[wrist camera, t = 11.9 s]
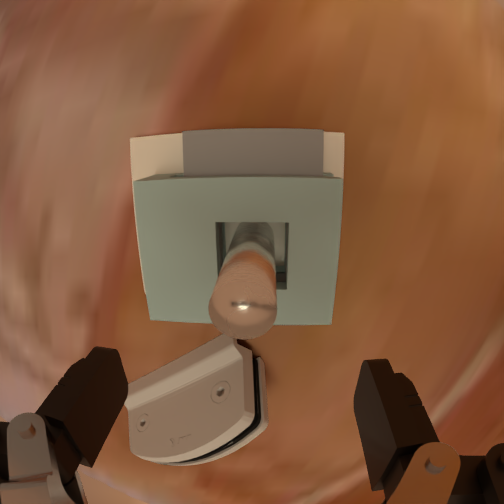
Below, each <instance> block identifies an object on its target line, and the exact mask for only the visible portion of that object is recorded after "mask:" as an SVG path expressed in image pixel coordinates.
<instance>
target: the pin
mask: <svg viewBox="0 0 504 504" xmlns="http://www.w3.org/2000/svg"><path fill="white" fill-rule="evenodd" d="M208 311H209V316H210V319H211V321H212V323H213V324H214V326H215V327H216V328H217V329H218V330H219V331H221V332H222V333H223V334H225V335H227V336H229V337H232V338H236V339H253V338H256V337H259V336H261V335H263V334H265V333H266V332H267V331H268V330H269V329H270V328H271V327H272V326H273V324H274V322H275V320H276V317H277V295H276V269H275V245H274V232H273V230H272V228H271V226H270V225H269V224H268V223H267V222H241V223H240V224H239V225H238V226H237V228H236V230H235V233H234V236H233V238H232V241H231V244H230V246H229V249H228V252H227V254H226V257H225V260H224V262H223V265H222V268H221V270H220V273H219V276H218V279H217V281H216V284H215V287H214V289H213V292H212V295H211V298H210V301H209V305H208Z"/></svg>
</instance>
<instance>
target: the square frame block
mask: <svg viewBox="0 0 504 504" xmlns="http://www.w3.org/2000/svg"><path fill="white" fill-rule="evenodd" d="M130 152H131V172H132V187H133V200H134V211H135V221H136V231H137V240H138V248H139V256H140V263H141V271H142V278H143V284H144V291H145V293H146V297H147V303H148V309H149V315H150V320H159V321H174V322H191V323H212V321H211V319H210V316H209V311H208V305H209V301H210V298H211V295H212V292H213V289H214V287H215V284H216V281H217V279H218V276H219V273H220V270H221V268H222V265H223V262H224V260H225V257H226V254H227V252H228V249H229V246H230V244H231V241H232V238H233V236H234V233H235V230H236V228H237V226H238V225H239V224H240V223H241V222H267V223H268V224H269V225H270V226H271V228H272V230H273V232H274V245H275V269H276V295H277V317H276V320H275V322H274V324H273V325H331V323H332V315H333V306H334V298H335V289H336V279H337V269H338V258H339V246H340V233H341V218H342V200H343V177H344V133H338V132H324V130H319V129H291V128H239V129H211V130H193V131H182V133H177V134H165V135H154V136H145V137H136V138H130Z"/></svg>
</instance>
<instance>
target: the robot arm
mask: <svg viewBox="0 0 504 504" xmlns="http://www.w3.org/2000/svg"><path fill="white" fill-rule="evenodd" d="M127 396H128V382H127V378H126V375H125V372H124V369H123V365H122V362H121V358H120V355H119V352H118V351H117V350H116V349H111V348H105V347H98V346H96V347H94V348H93V349H92V351H91V352H90V353H89V354H88V356H87V357H86V358H82V359H81V360H79V361H78V362H76V363H75V364H73V365H72V366H71V367H70V368H69V369H68V370H67V372H66V373H65V374H64V377H62V378H61V379H60V381H59V382H58V385H56V386H55V387H54V389H53V390H52V391H51V393H50V394H49V395H48V396H47V398H46V399H45V400H44V402H43V403H42V405H41V406H40V407H39V409H38V410H37V411H36V413H23V414H20V415H18V416H16V417H15V418H13V419H12V420H11V422H10V423H9V422H0V504H88V502H87V499H86V496H85V493H84V489H83V486H82V483H81V480H80V476H79V473H78V471H77V468H78V466H79V464H82V465H85V466H88V467H91V468H92V467H93V465H94V463H95V461H96V458H97V456H98V454H99V452H100V450H101V448H102V446H103V444H104V442H105V440H106V438H107V436H108V434H109V432H110V430H111V428H112V426H113V424H114V422H115V420H116V418H117V416H118V414H119V413H120V411H121V409H122V407H123V405H124V403H125V401H126V399H127ZM354 412H355V417H356V421H357V425H358V429H359V433H360V438H361V442H362V447H363V451H364V456H365V460H366V465H367V469H368V474H369V479H370V484H371V489H372V491H377V490H383V489H384V493H385V499H384V500H383V502H382V503H381V504H504V443H501V444H497V445H495V446H493V447H492V448H491V449H490V450H489V452H488V453H487V454H486V456H462V455H458V453H457V452H456V451H455V449H453V448H452V447H451V446H449V445H447V444H445V443H441V442H440V441H439V439H438V437H437V435H436V433H435V430H434V428H433V426H432V423H431V421H430V419H429V417H428V415H427V412H426V410H425V408H424V406H422V401H421V399H420V397H419V396H418V393H417V391H416V389H415V387H414V385H413V383H412V382H411V381H410V380H409V379H408V378H407V377H406V376H405V375H404V374H403V373H394V372H393V369H392V367H391V365H390V363H389V361H388V360H387V359H373V360H364V361H363V363H362V366H361V370H360V374H359V378H358V382H357V386H356V390H355V394H354Z"/></svg>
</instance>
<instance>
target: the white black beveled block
mask: <svg viewBox="0 0 504 504" xmlns="http://www.w3.org/2000/svg"><path fill="white" fill-rule="evenodd" d="M124 404H125V406H126V407H127V409H128V417H129V438H130V450H131V452H132V453H133V454H135V455H136V456H138V457H140V458H142V459H145V460H149V461H151V462H155V463H158V464H164V465H177V466H183V465H196V464H202V463H206V462H210V461H213V460H216V459H219V458H221V457H224V456H226V455H228V454H230V453H232V452H234V451H236V450H238V449H239V448H241V447H243V446H244V445H246V444H247V443H249V442H250V441H252V440H253V439H254V438H256V437H257V436H258V435H259V434H260V433H262V432H263V431H264V430H265V429H266V427H267V425H268V421H269V420H268V406H267V392H266V378H265V364H264V362H263V360H262V359H261V357H258V358H256V359H253V360H252V351H251V350H249V349H247V348H245V347H243V346H241V345H239V344H237V339H236V338H232V337H229V336H227V335H225V334H222V335H220V336H218V337H216V338H215V339H213V340H211V341H209V342H207V343H205V344H204V345H202V346H200V347H198V348H196V349H194V350H193V351H191V352H189V353H187V354H185V355H183V356H181V357H180V358H178V359H176V360H174V361H172V362H170V363H168V364H166V365H164V366H163V367H161V368H159V369H157V370H155V371H153V372H151V373H149V374H147V375H145V376H143V377H141V378H139V379H137V380H135V381H133V382H131V383H129V384H128V396H127V399H126V401H125V403H124Z"/></svg>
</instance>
